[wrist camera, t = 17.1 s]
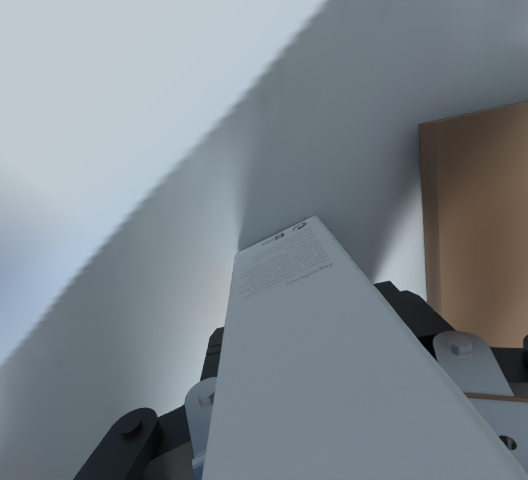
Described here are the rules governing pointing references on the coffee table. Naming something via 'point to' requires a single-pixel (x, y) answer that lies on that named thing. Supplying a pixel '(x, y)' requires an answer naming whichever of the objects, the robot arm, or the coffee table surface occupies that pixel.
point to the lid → (478, 221)
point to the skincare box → (334, 379)
